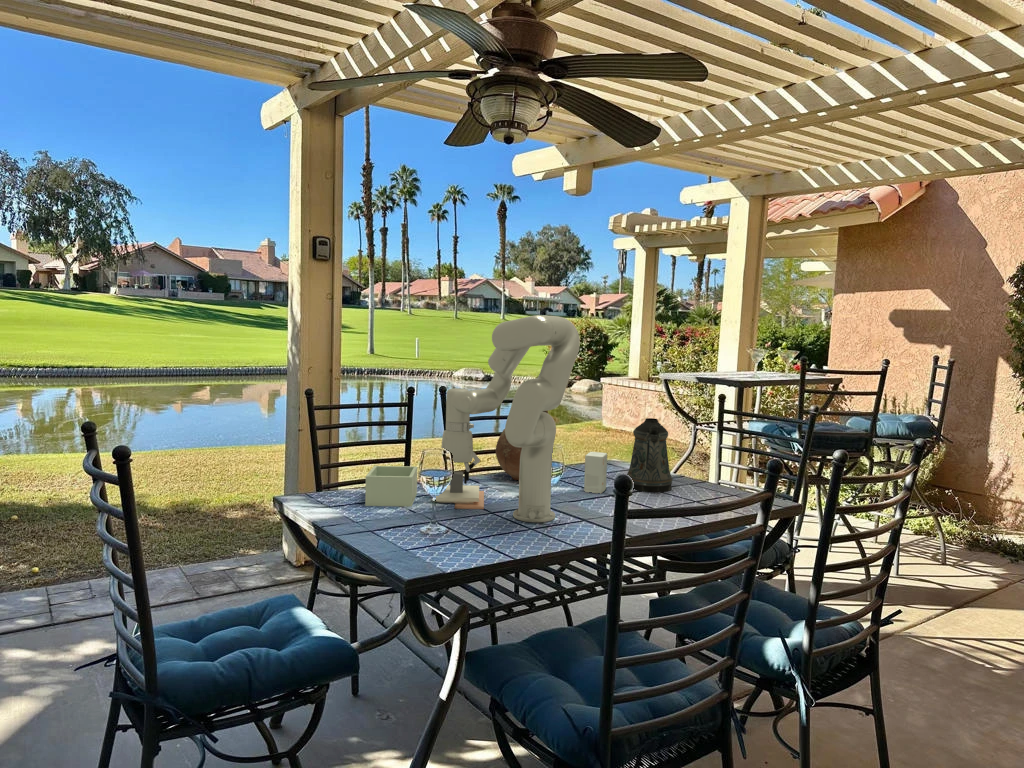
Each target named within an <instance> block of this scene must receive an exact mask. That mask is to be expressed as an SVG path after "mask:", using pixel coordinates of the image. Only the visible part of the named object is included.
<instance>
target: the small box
mask: <svg viewBox="0 0 1024 768" xmlns="http://www.w3.org/2000/svg"><path fill="white" fill-rule="evenodd" d="M607 469H608V453H607V452H599V451H589V452H588V453H587V454H585V456H584V480H583V481H584V485H583V492H584V491H585V492H584V493H589V492H592V493H593V494H598V493H600V494H603V492H605V490H607V474H608V473H607V472H608V470H607ZM592 493H591V494H592Z"/></svg>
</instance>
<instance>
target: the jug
mask: <svg viewBox="0 0 1024 768" xmlns="http://www.w3.org/2000/svg"><path fill="white" fill-rule="evenodd" d="M542 412H546V413H548V414H549V410H548V411H542ZM521 450H522V447H515V446H513V445H511V444H510V443H509V442H508V440H507V438H506V435H505V428H504V429H503V430H502V432H501V434H500V435H499V437H498V439H497V441H496V445H495V457H496V460H497V462H498V464H499V466H500V468H501V469H502V470H503V472H505V473H506V474H507V475H508V476H510V478H511V479H512V480H514V481H517V480H518V481H517V482H519V474H520V455H521Z"/></svg>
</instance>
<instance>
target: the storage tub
mask: <svg viewBox="0 0 1024 768" xmlns="http://www.w3.org/2000/svg"><path fill="white" fill-rule="evenodd" d="M417 495H418V466H410V465H409V466H408V465H406V466H404V465H401V466H400V465H374V466H372V468H371V469H370V470H369V472H368V473H367V474H366V475H365V503H364V505H365V507H412V506H413V504H414V501H415V500H416V497H417Z"/></svg>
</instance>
